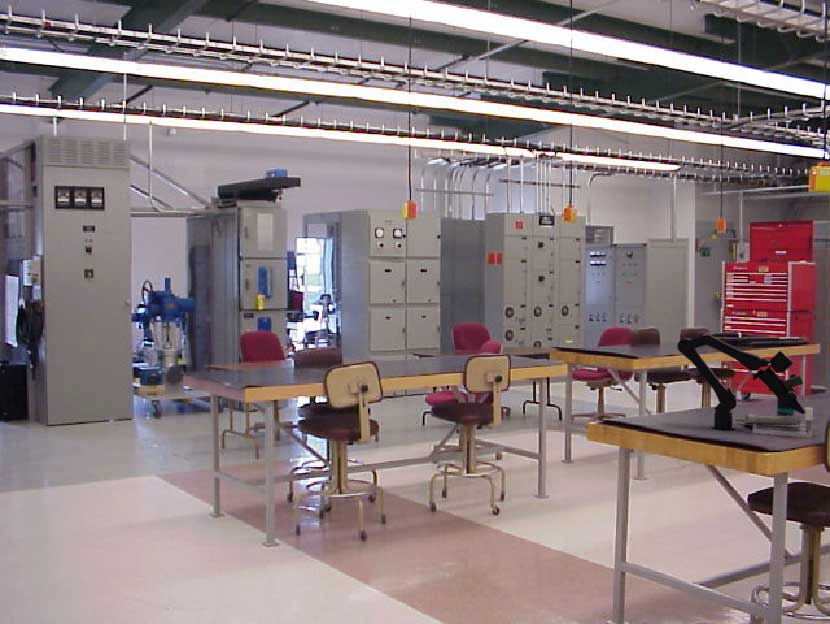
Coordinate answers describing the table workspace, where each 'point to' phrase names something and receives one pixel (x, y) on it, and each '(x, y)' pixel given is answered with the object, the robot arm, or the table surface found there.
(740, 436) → the table surface
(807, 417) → the cap
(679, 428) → the table surface
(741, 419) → the geiger counter
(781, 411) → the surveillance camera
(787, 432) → the fader console
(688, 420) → the table surface
